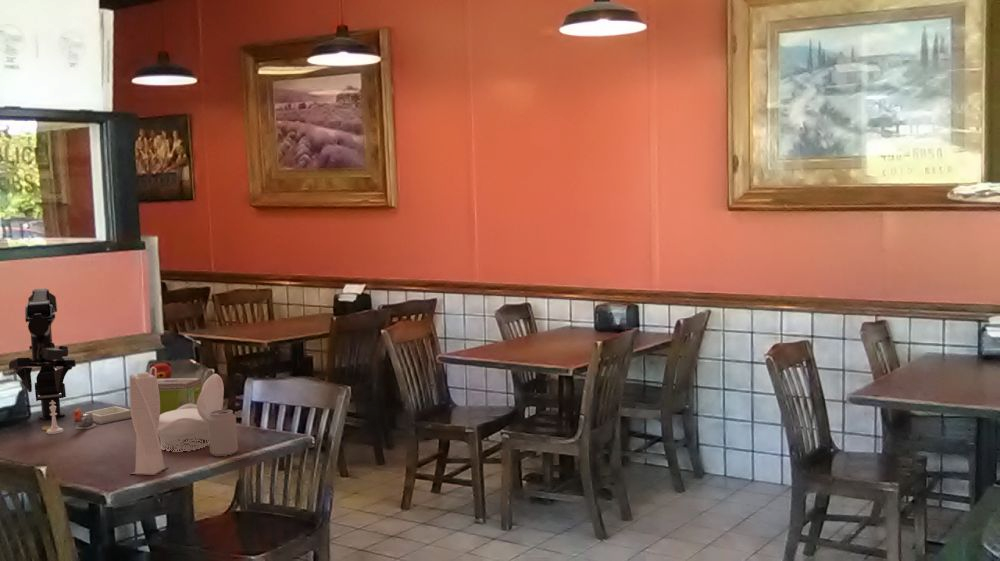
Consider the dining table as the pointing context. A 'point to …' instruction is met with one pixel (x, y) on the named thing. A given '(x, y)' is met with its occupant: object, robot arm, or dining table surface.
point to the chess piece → (54, 421)
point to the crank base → (86, 426)
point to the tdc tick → (46, 427)
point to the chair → (192, 417)
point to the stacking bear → (162, 370)
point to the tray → (110, 414)
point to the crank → (82, 418)
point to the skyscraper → (146, 422)
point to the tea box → (178, 392)
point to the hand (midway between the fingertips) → (44, 391)
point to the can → (222, 433)
